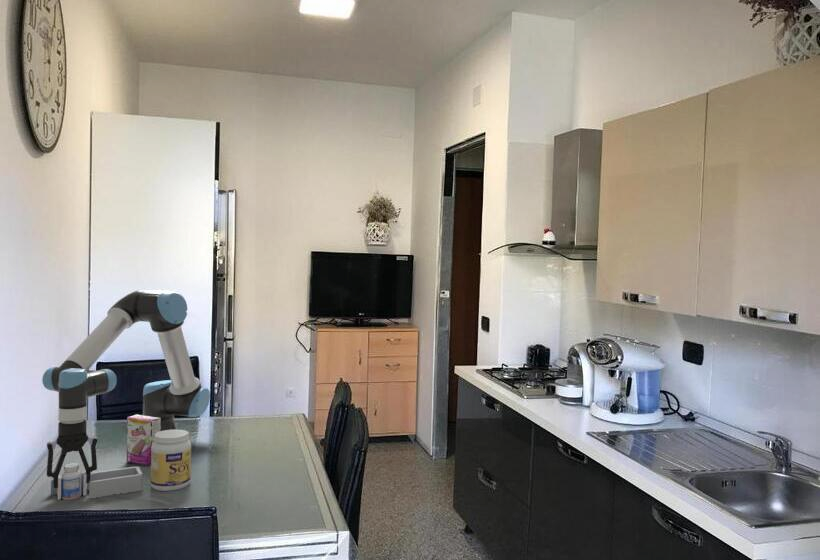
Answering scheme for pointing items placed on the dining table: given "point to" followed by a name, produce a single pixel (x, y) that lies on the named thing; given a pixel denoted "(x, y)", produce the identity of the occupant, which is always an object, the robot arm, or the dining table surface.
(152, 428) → the candy bar box
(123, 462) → the dining table surface
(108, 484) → the open rectangular tray
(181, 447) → the supplement tub
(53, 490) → the cover flap
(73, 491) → the pill bottle
